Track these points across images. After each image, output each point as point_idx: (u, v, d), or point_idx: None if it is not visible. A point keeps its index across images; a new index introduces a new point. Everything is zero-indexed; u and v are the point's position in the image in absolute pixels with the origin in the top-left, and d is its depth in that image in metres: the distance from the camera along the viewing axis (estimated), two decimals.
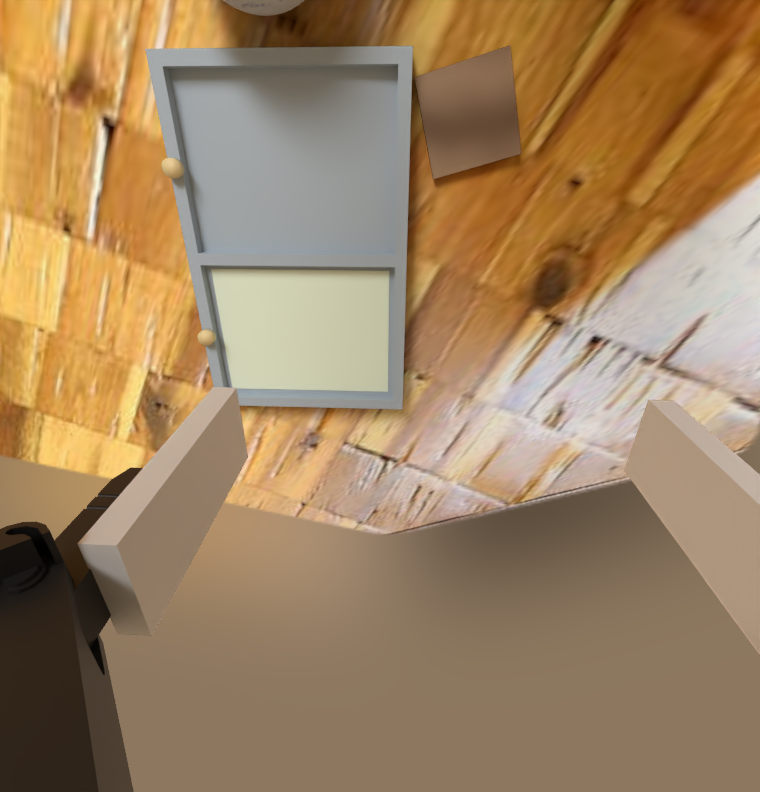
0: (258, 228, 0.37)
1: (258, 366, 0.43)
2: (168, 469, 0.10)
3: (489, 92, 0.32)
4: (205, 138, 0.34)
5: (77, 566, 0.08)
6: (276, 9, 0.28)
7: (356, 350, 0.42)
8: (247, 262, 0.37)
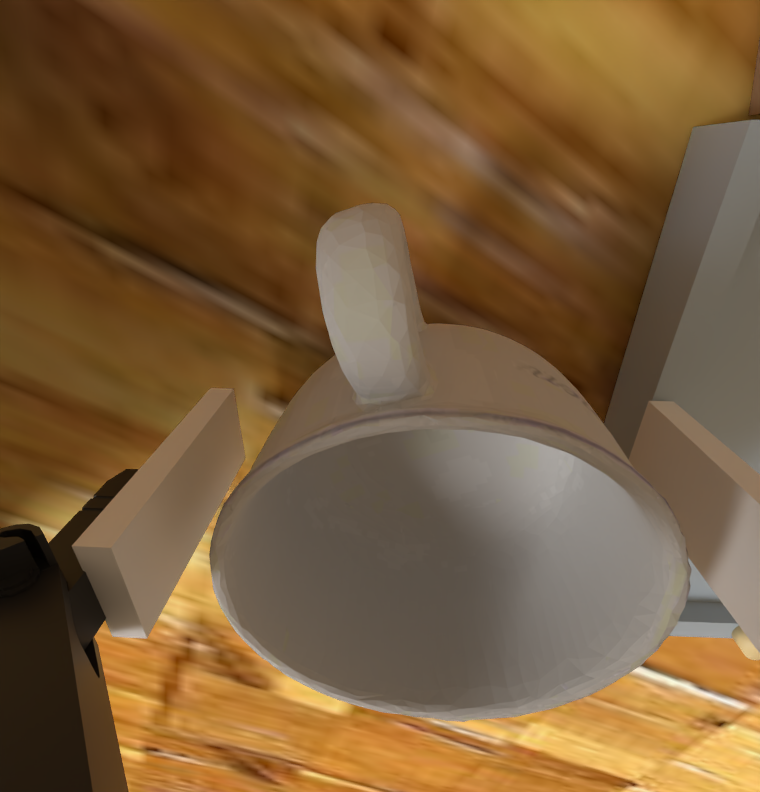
0: None
1: None
2: (164, 470, 0.10)
3: None
4: None
5: (71, 569, 0.08)
6: None
7: None
8: None
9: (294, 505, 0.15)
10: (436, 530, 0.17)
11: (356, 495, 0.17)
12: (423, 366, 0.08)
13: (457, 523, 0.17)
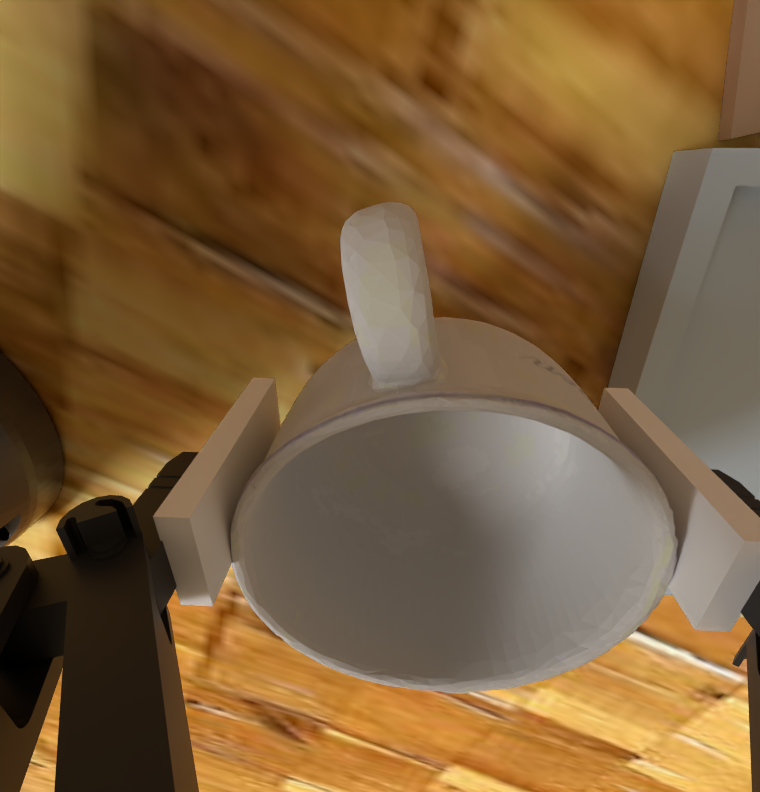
0: None
1: None
2: (224, 451, 0.11)
3: None
4: None
5: (149, 538, 0.09)
6: None
7: None
8: None
9: (302, 491, 0.15)
10: (436, 517, 0.18)
11: (359, 483, 0.18)
12: (437, 353, 0.08)
13: (456, 510, 0.18)
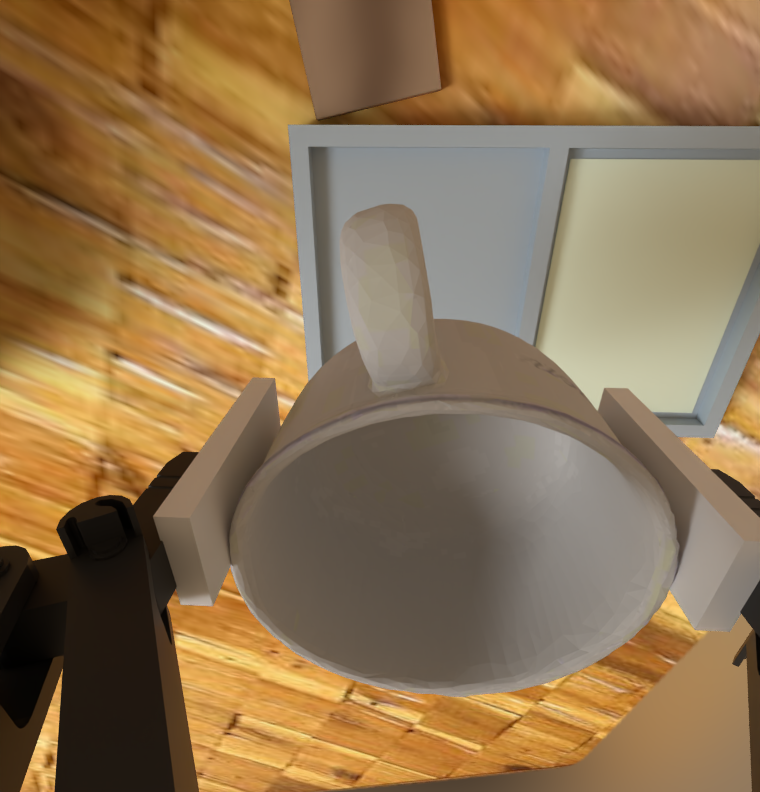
0: None
1: (669, 374, 0.30)
2: (224, 451, 0.11)
3: None
4: None
5: (150, 539, 0.09)
6: None
7: (690, 219, 0.25)
8: None
9: (302, 493, 0.15)
10: (436, 518, 0.18)
11: (359, 485, 0.18)
12: (437, 356, 0.08)
13: (456, 512, 0.18)
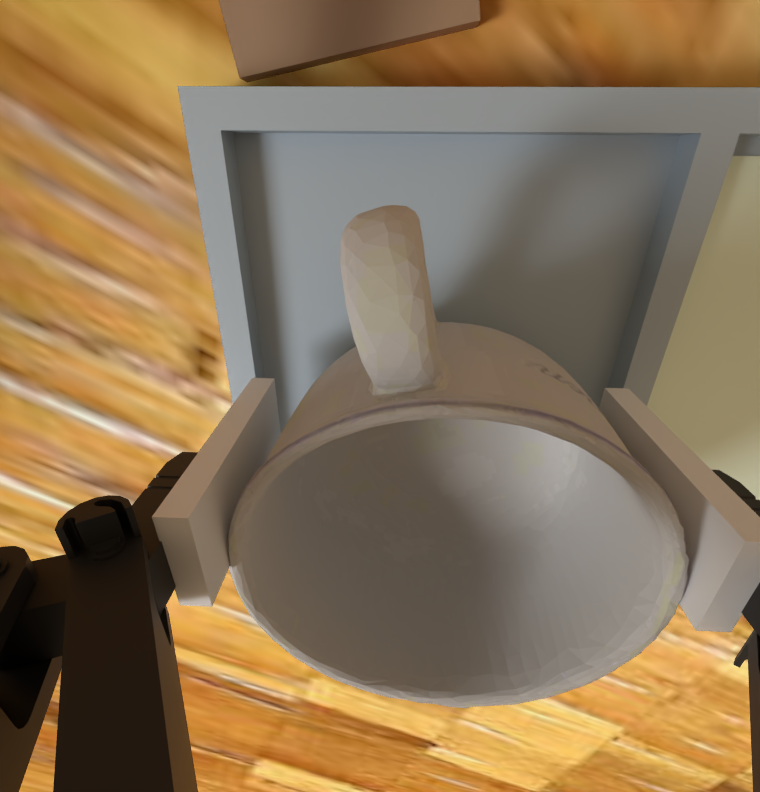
0: None
1: None
2: (223, 451, 0.11)
3: None
4: None
5: (148, 539, 0.09)
6: None
7: None
8: None
9: (305, 496, 0.15)
10: (441, 525, 0.18)
11: (364, 489, 0.17)
12: (438, 359, 0.08)
13: (462, 518, 0.18)
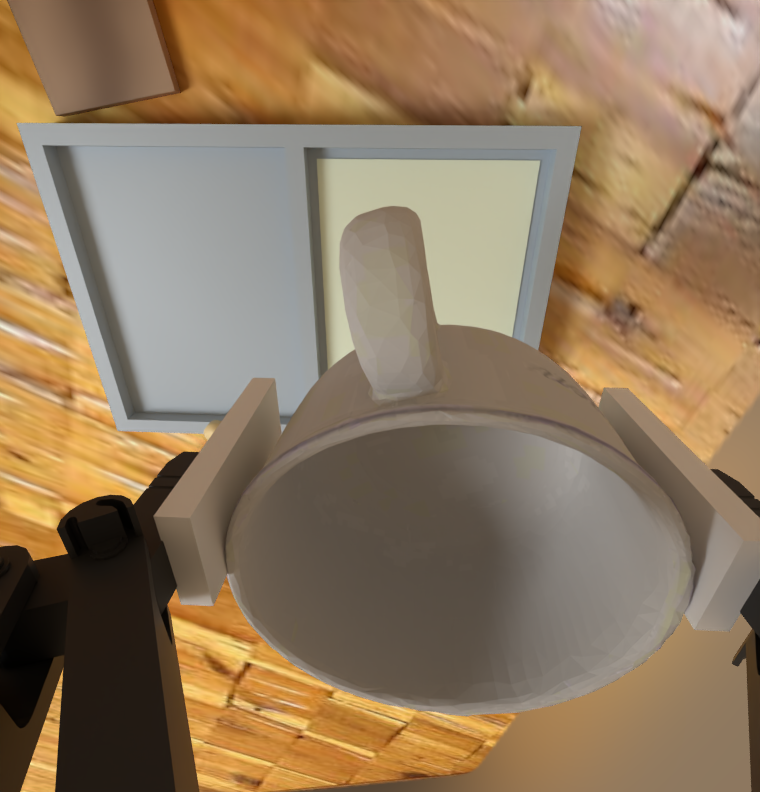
0: (276, 349, 0.29)
1: None
2: (224, 451, 0.11)
3: None
4: (189, 391, 0.31)
5: (150, 538, 0.09)
6: None
7: (451, 221, 0.25)
8: (313, 371, 0.28)
9: (304, 500, 0.15)
10: (442, 528, 0.18)
11: (364, 492, 0.17)
12: (439, 364, 0.08)
13: (463, 522, 0.17)
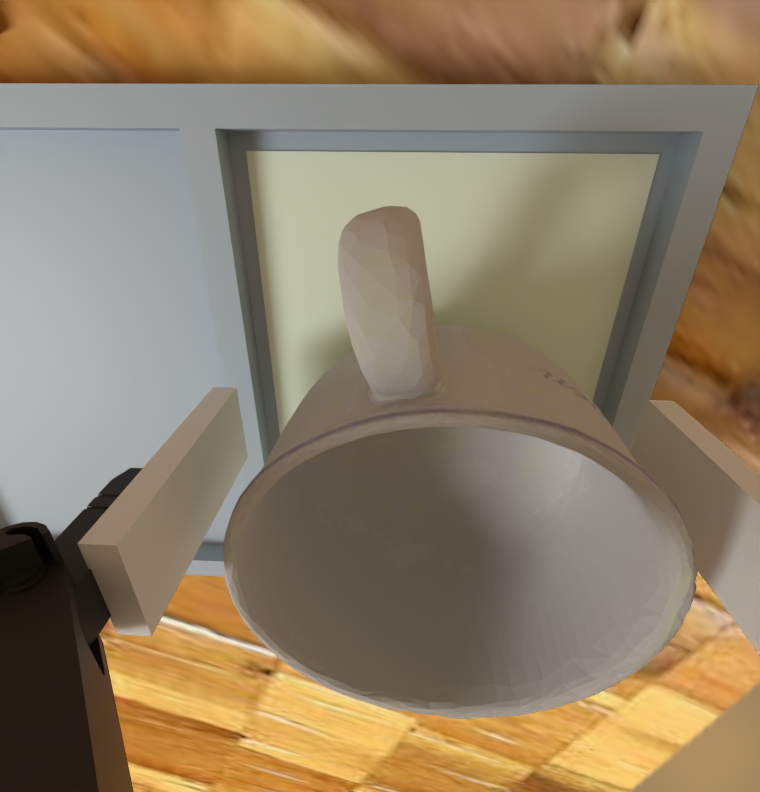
0: None
1: None
2: (168, 469, 0.10)
3: None
4: (77, 508, 0.20)
5: (77, 566, 0.08)
6: None
7: (489, 261, 0.14)
8: None
9: (303, 501, 0.15)
10: (442, 530, 0.17)
11: (363, 494, 0.17)
12: (439, 365, 0.08)
13: (462, 524, 0.17)
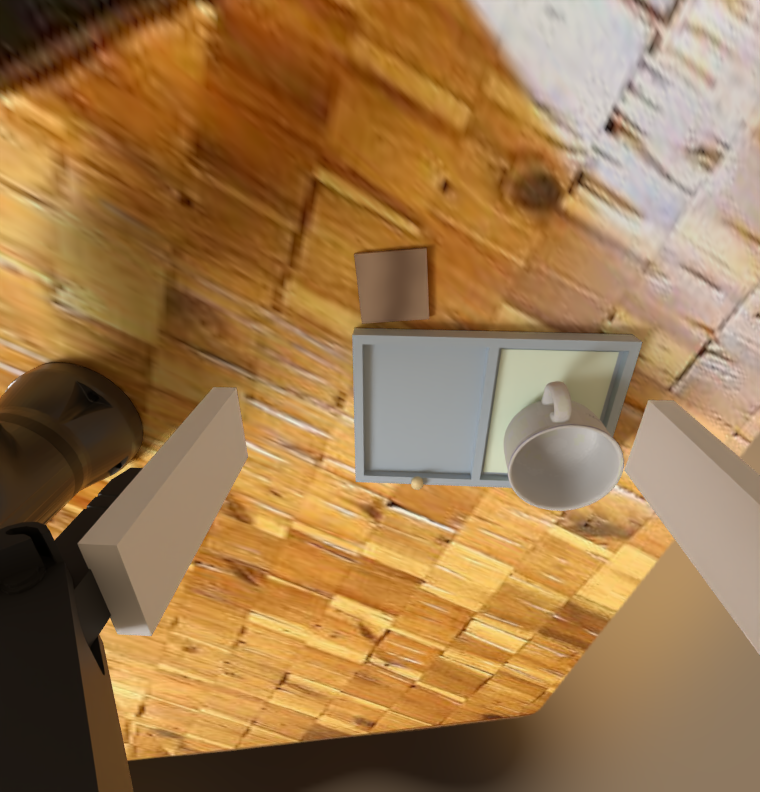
0: (458, 438, 0.50)
1: None
2: (168, 469, 0.10)
3: (380, 271, 0.42)
4: (401, 459, 0.52)
5: (77, 566, 0.08)
6: None
7: (569, 377, 0.46)
8: (481, 450, 0.50)
9: None
10: (546, 464, 0.50)
11: (519, 451, 0.49)
12: (570, 415, 0.40)
13: (554, 461, 0.49)
